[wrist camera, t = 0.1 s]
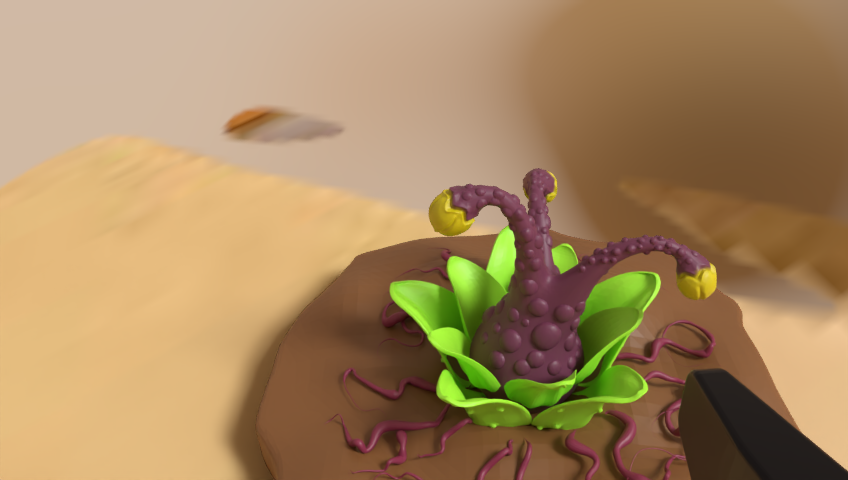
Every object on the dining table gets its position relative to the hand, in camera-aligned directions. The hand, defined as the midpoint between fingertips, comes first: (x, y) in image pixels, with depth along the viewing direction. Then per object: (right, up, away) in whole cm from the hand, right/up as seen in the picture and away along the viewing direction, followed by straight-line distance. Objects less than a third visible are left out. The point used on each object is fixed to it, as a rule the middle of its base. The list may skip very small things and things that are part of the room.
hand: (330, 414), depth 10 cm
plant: (+5, -5, +22) cm, 23 cm away
